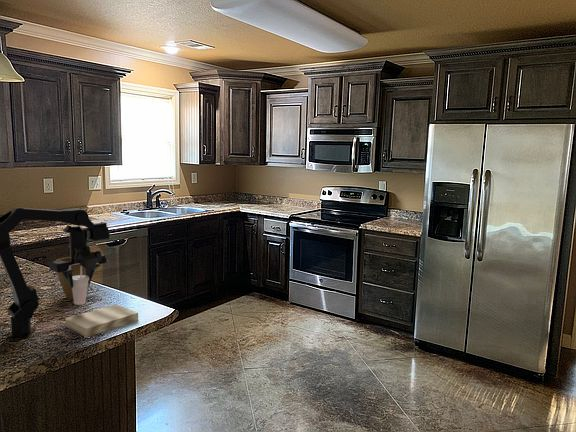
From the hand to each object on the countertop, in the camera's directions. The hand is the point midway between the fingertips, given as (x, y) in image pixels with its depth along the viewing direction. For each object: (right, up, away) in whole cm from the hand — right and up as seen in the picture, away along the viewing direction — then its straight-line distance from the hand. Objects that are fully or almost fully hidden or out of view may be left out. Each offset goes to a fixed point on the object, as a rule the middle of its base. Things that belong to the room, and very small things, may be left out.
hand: (80, 285), depth 161 cm
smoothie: (-1, -7, +1) cm, 7 cm away
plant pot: (-15, -9, +28) cm, 33 cm away
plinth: (+9, -14, -1) cm, 16 cm away
